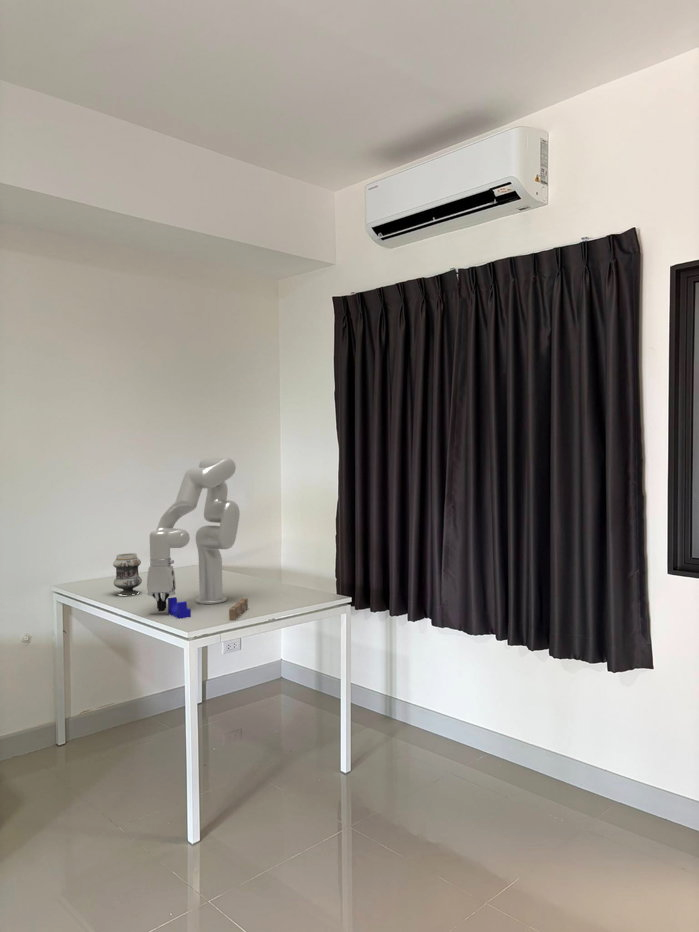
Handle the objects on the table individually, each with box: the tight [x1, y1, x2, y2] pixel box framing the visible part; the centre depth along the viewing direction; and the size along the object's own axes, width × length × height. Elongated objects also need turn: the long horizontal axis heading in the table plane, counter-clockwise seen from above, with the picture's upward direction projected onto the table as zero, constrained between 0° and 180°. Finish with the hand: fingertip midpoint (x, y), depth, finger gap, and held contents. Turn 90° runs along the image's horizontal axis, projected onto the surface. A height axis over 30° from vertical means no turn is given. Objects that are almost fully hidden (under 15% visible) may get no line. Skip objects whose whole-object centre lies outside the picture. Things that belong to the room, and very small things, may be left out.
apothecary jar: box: [112, 552, 143, 595], centre depth 311 cm, size 12×12×18 cm
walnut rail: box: [228, 597, 249, 621], centre depth 266 cm, size 20×2×4 cm, turn 174°
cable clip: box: [167, 597, 192, 619], centre depth 267 cm, size 12×4×6 cm, turn 34°
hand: (161, 610), depth 269 cm, fingers closed
